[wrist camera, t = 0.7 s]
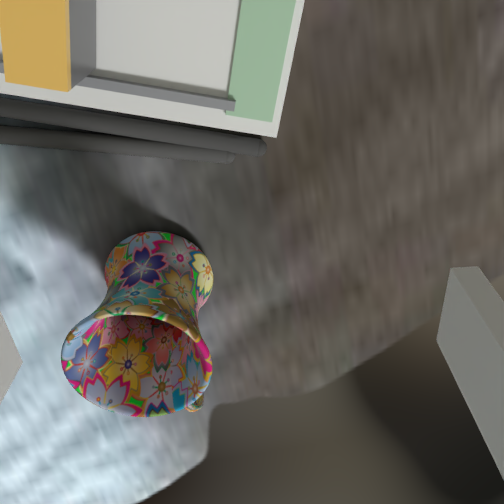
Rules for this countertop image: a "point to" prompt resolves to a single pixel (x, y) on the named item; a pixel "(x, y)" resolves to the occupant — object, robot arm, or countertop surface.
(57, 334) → the countertop surface
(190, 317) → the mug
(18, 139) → the cable
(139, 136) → the cable
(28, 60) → the block
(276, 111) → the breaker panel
